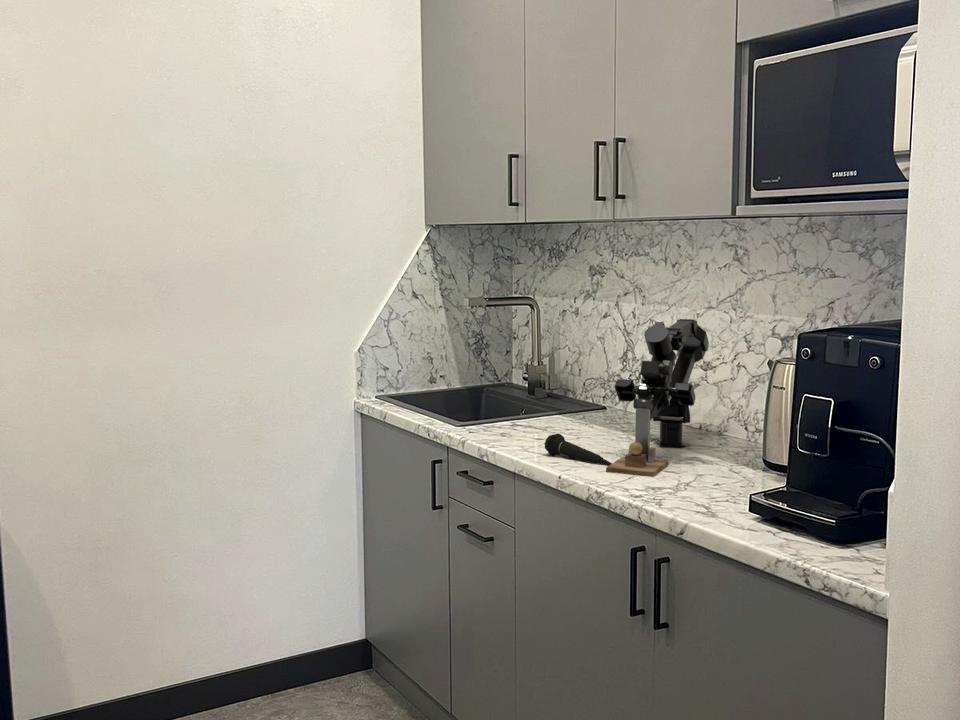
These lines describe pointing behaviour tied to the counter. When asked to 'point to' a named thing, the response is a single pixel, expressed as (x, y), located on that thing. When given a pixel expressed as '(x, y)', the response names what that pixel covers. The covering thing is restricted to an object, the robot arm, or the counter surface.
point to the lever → (643, 423)
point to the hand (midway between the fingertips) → (647, 420)
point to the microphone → (571, 450)
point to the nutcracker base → (637, 471)
